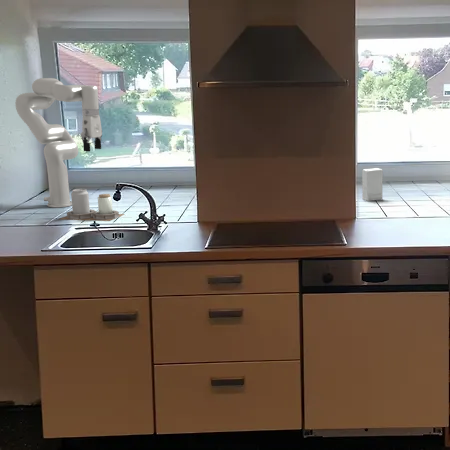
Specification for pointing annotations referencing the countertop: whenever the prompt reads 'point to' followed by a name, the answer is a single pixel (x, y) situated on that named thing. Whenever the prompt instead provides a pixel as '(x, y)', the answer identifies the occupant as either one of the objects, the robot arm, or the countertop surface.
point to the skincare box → (372, 184)
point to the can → (80, 201)
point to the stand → (92, 216)
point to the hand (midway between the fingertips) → (92, 150)
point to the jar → (105, 204)
